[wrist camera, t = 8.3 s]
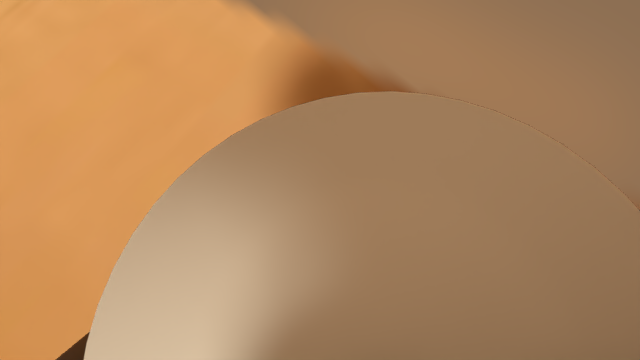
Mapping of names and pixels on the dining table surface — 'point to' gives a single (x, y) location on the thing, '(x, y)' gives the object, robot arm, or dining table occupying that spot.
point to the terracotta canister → (380, 244)
